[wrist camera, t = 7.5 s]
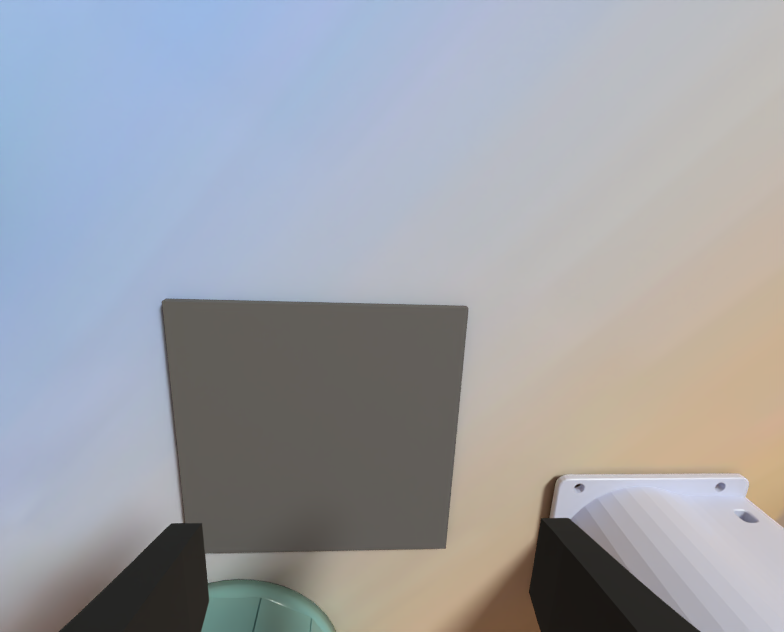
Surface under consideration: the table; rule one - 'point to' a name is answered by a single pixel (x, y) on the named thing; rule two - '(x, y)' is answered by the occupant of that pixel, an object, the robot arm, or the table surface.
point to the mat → (315, 422)
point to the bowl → (261, 609)
